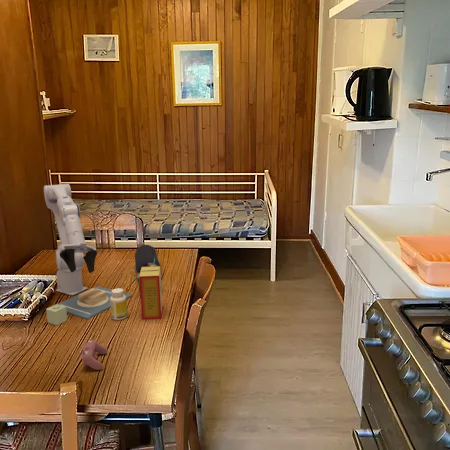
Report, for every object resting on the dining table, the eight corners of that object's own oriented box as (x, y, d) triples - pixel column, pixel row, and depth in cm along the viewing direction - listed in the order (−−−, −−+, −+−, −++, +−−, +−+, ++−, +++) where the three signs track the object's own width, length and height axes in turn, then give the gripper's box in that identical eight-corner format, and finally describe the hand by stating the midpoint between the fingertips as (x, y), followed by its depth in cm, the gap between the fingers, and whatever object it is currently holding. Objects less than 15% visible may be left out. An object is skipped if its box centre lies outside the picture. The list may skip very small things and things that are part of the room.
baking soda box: (161, 318, 160) (159, 274, 156) (141, 319, 160) (139, 275, 156) (162, 306, 169) (160, 265, 165) (144, 307, 169) (141, 265, 165)
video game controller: (96, 357, 140) (83, 339, 138) (109, 350, 139) (96, 332, 137) (89, 376, 130) (75, 357, 128) (104, 369, 130) (90, 349, 128)
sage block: (47, 322, 159) (45, 307, 157) (58, 317, 162) (56, 302, 161) (56, 325, 156) (54, 310, 155) (67, 320, 160) (65, 305, 159)
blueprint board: (52, 308, 169) (51, 298, 168) (97, 287, 187) (96, 278, 187) (87, 319, 160) (86, 309, 159) (131, 296, 178) (131, 287, 177)
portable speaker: (161, 282, 192) (160, 259, 189) (137, 284, 190) (135, 261, 187) (157, 262, 216) (156, 241, 213) (135, 264, 214) (133, 243, 211)
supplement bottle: (130, 314, 164) (128, 288, 161) (122, 321, 159) (120, 294, 156) (116, 312, 165) (114, 286, 163) (108, 319, 160) (106, 292, 158)
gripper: (64, 228, 157) (72, 265, 152) (98, 232, 168) (106, 267, 164) (51, 237, 160) (59, 274, 155) (86, 241, 172) (94, 275, 167)
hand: (82, 271), depth 160 cm, fingers open, 7 cm apart
